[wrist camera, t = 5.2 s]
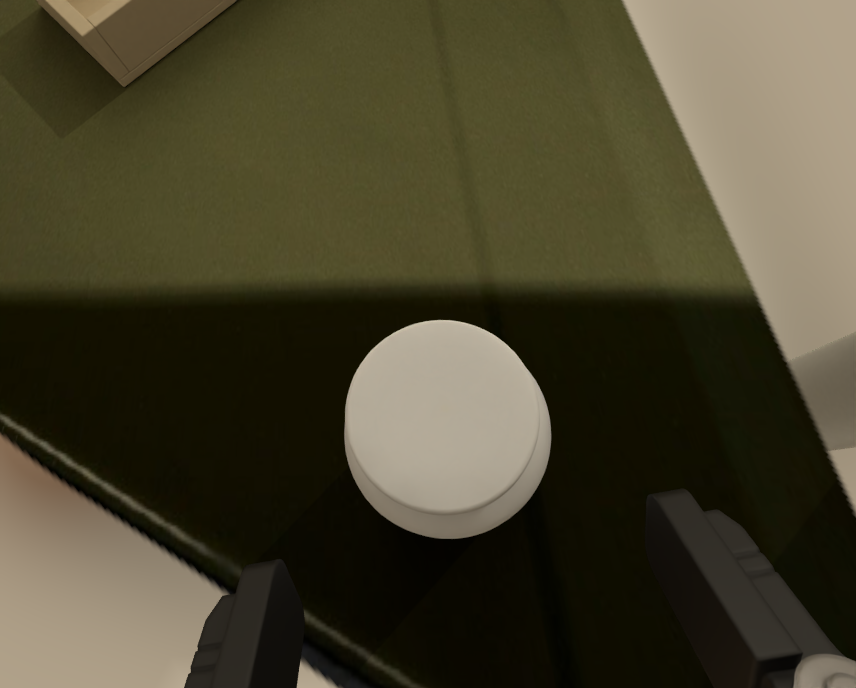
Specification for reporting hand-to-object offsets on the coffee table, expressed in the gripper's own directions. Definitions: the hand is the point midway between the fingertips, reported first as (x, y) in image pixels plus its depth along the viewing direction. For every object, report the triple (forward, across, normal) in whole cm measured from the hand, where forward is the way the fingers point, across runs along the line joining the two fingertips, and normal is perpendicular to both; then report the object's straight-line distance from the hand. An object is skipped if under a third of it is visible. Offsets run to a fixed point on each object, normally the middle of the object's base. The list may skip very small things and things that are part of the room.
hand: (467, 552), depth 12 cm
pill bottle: (+10, 0, +6) cm, 12 cm away
